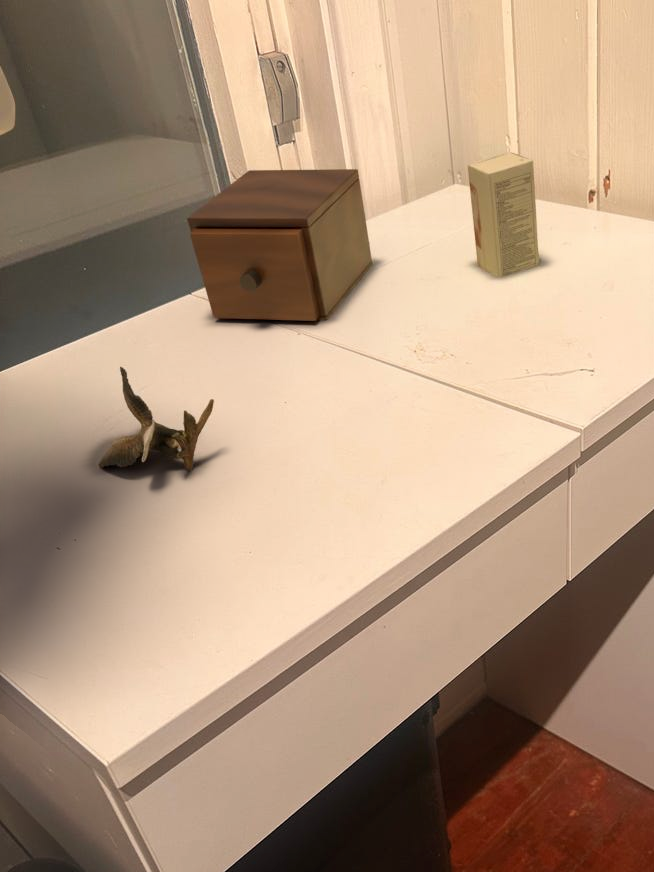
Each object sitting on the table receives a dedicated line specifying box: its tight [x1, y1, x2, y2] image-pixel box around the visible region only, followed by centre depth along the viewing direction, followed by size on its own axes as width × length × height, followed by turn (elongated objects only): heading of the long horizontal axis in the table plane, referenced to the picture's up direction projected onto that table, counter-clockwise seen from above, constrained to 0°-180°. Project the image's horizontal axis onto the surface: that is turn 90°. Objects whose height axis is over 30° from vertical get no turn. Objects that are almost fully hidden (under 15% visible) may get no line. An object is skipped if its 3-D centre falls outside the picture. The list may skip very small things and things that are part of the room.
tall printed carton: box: [467, 151, 540, 278], centre depth 88 cm, size 5×4×10 cm
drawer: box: [189, 227, 319, 322], centre depth 86 cm, size 14×10×8 cm
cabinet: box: [186, 168, 373, 321], centre depth 88 cm, size 14×12×10 cm
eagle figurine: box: [98, 366, 215, 472], centre depth 67 cm, size 8×7×9 cm
